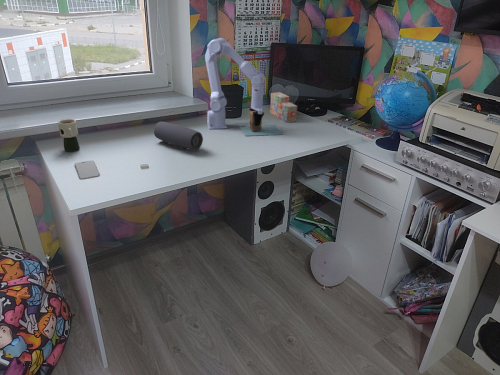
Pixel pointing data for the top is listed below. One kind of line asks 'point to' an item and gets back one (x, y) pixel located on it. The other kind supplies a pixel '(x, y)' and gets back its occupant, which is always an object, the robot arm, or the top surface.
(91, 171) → the smartphone
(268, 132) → the teal-grey mat
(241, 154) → the top surface
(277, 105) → the stack of blocks
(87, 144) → the top surface
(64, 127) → the character mug
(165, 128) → the bluetooth speaker
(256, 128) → the walnut block
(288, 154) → the top surface
